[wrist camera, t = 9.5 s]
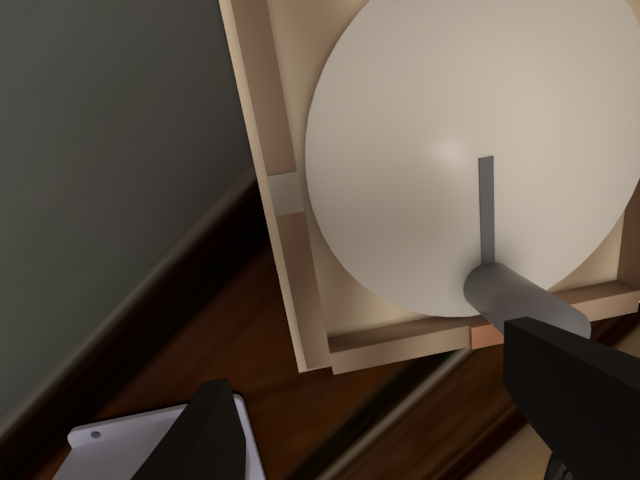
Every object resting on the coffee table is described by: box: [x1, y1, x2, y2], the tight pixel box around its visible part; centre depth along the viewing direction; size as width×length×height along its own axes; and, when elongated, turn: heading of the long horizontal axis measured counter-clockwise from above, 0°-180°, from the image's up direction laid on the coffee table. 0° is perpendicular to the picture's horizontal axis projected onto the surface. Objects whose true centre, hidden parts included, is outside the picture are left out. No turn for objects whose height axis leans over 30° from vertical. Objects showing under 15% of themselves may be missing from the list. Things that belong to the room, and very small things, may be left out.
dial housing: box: [219, 0, 640, 375], centre depth 16 cm, size 19×19×3 cm
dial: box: [304, 0, 640, 339], centre depth 13 cm, size 15×15×5 cm
